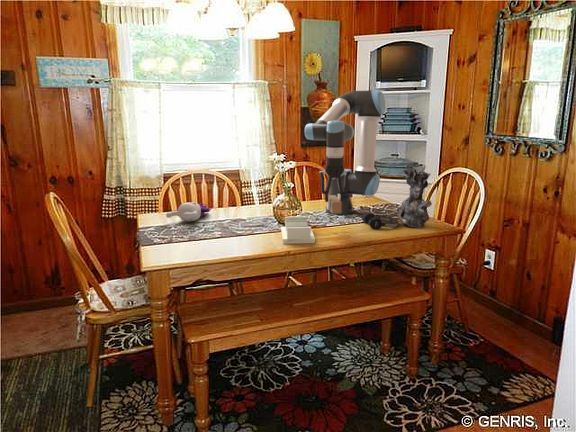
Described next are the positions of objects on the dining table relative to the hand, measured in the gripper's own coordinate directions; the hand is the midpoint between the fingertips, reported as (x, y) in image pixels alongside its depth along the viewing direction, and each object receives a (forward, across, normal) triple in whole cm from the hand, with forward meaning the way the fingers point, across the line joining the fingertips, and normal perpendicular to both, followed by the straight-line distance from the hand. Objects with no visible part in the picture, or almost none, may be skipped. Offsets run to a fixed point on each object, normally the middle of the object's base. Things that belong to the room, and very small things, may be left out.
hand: (333, 208), depth 199 cm
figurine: (+13, -68, +32) cm, 76 cm away
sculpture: (+13, +43, +14) cm, 47 cm away
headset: (+13, +26, +15) cm, 33 cm away
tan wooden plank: (0, 0, 0) cm, 0 cm away
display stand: (+13, -16, 0) cm, 21 cm away
